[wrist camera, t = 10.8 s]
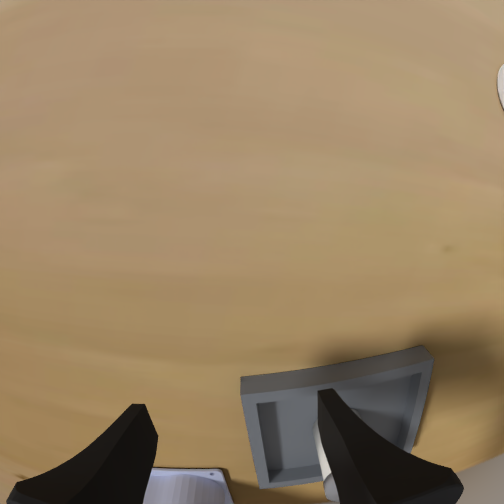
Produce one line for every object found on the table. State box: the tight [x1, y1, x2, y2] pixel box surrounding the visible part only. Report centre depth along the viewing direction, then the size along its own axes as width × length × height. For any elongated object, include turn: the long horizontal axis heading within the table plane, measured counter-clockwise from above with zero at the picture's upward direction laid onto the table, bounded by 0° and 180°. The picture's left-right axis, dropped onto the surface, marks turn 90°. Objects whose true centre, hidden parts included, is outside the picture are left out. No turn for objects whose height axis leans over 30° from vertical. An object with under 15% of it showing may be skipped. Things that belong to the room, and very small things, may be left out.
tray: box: [240, 345, 434, 489], centre depth 24 cm, size 15×13×2 cm
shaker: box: [312, 408, 363, 502], centre depth 21 cm, size 5×5×7 cm
